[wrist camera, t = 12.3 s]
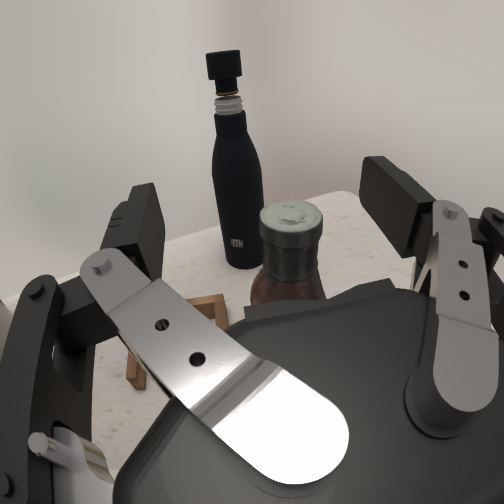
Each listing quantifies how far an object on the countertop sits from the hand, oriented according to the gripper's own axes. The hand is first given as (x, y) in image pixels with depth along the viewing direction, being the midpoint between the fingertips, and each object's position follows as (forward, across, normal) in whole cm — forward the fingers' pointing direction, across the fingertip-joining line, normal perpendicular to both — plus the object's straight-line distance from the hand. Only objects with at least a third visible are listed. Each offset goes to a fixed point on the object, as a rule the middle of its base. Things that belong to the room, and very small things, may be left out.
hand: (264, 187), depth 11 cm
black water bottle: (+26, -1, +26) cm, 37 cm away
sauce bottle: (+5, -2, +25) cm, 26 cm away
